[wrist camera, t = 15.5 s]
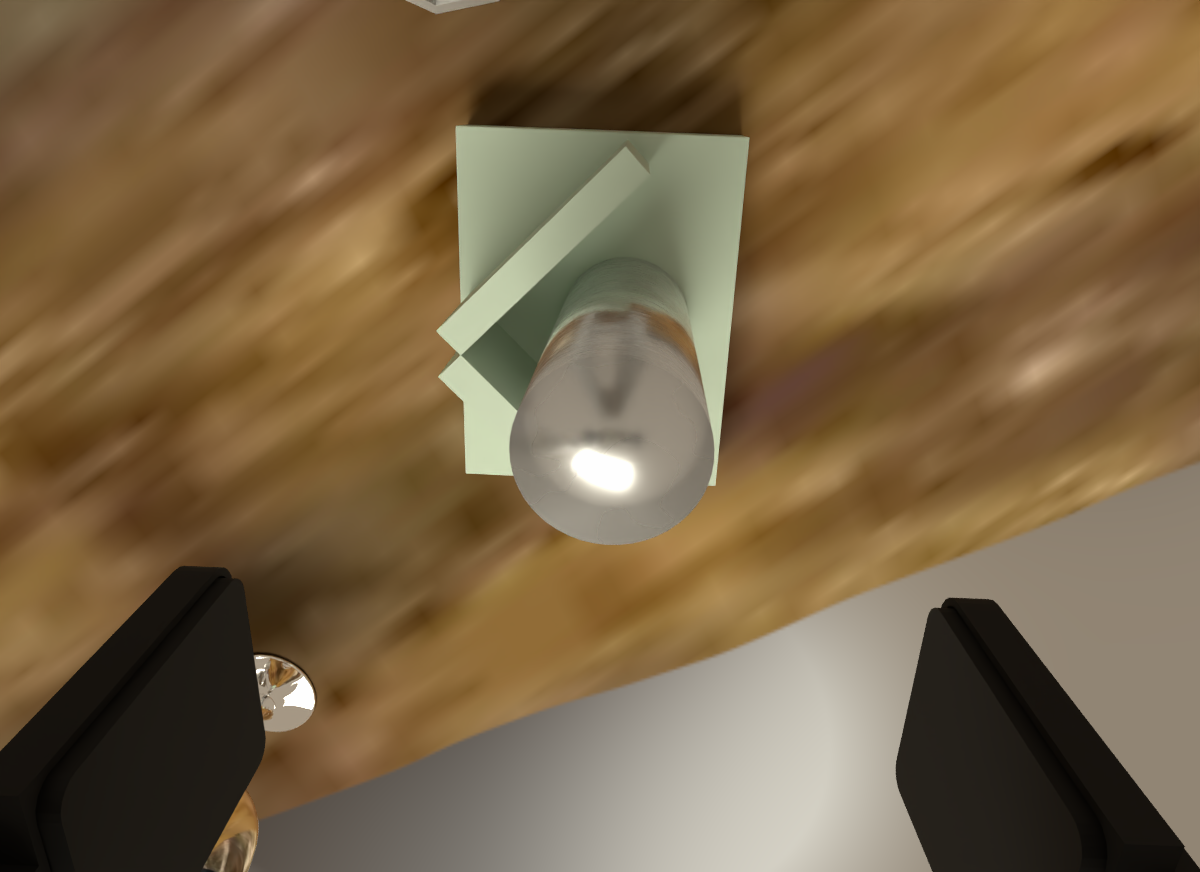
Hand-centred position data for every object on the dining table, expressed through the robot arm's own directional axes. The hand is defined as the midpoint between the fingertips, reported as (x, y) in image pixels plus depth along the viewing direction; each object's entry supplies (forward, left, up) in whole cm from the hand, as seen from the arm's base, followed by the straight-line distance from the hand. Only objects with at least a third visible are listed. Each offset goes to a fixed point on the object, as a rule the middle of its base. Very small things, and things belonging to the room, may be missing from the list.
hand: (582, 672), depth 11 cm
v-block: (0, +1, -21) cm, 21 cm away
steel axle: (0, 0, -19) cm, 19 cm away
